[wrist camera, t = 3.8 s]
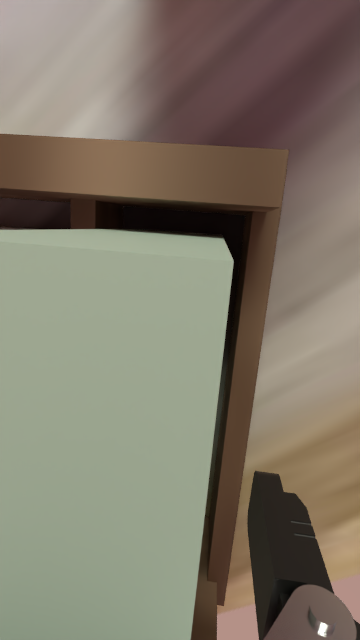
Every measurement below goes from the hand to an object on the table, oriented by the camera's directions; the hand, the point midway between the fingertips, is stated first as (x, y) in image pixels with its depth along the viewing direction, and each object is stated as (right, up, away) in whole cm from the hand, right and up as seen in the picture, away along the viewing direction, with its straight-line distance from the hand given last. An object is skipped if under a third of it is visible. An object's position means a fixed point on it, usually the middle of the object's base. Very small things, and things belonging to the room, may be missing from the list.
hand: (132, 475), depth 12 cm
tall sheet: (+1, +2, +8) cm, 8 cm away
